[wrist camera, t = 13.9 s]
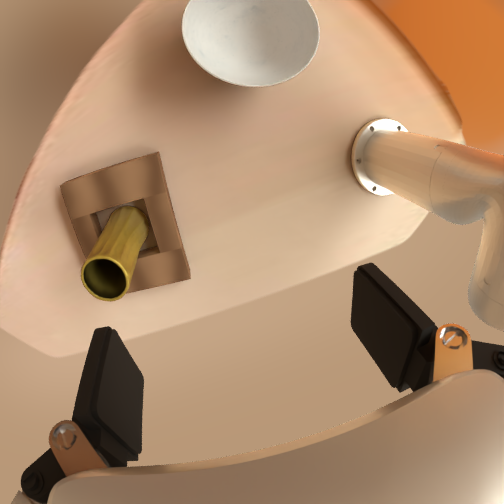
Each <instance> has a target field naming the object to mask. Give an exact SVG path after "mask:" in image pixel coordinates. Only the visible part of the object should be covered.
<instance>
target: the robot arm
mask: <svg viewBox="0 0 504 504" xmlns="http://www.w3.org/2000/svg"><path fill="white" fill-rule="evenodd" d="M351 156H352V167H353V171H354V174H355V177H356V178H357V180H358V182H359V183H360V184H361V185H362V187H363V188H365V189H366V190H367V191H369V192H371V193H373V194H376V195H384V196H385V195H390V194H392V193H395V194H397V195H399V196H401V197H403V198H405V199H407V200H409V201H411V202H413V203H415V204H417V205H419V206H421V207H423V208H424V209H426V210H428V211H430V212H432V213H434V214H435V215H437V216H439V217H441V218H443V219H445V220H446V221H448V222H451V223H453V224H459V225H464V224H470V223H473V222H476V221H478V220H480V219H482V218H484V226H483V232H482V239H481V243H480V247H479V251H478V254H477V258H476V262H475V265H474V268H473V272H472V276H471V280H470V283H469V289H468V300H469V304H470V306H471V309H472V311H473V312H474V313H475V315H476V316H477V317H478V318H479V319H481V320H482V321H483V322H484V323H486V324H488V325H489V326H492V327H494V328H496V329H498V330H501V331H503V332H504V155H501V154H496V153H492V152H487V151H484V150H480V149H476V148H472V147H469V146H465V145H462V144H458V143H454V142H450V141H446V140H442V139H438V138H434V137H429V136H425V135H420V134H416V133H411V132H408V131H407V130H406V128H405V127H404V126H403V125H402V124H400V123H399V122H397V121H395V120H392V119H386V118H379V119H375V120H372V121H371V122H369V123H367V124H366V125H365V126H364V127H363V128H362V129H361V130H360V131H359V133H358V134H357V136H356V138H355V141H354V144H353V147H352V154H351ZM351 327H352V329H353V331H354V332H355V333H356V335H357V337H358V338H359V339H360V341H361V342H362V344H363V345H364V346H365V348H366V349H367V351H368V352H369V354H370V355H371V357H372V358H373V360H374V361H375V363H376V364H377V366H378V367H379V368H380V370H381V372H382V373H383V374H384V375H385V377H386V379H387V380H388V382H389V383H390V385H391V386H392V387H393V388H395V387H396V388H397V389H398V391H399V392H402V391H404V390H406V389H408V388H411V389H412V391H413V393H411V394H409V395H407V396H405V397H403V398H401V399H399V400H397V401H394V402H393V403H390V404H388V405H386V406H384V407H382V408H379V409H377V410H375V411H373V412H371V413H368V414H366V415H363V416H361V417H359V418H356V419H354V420H351V421H349V422H346V423H344V424H341V425H338V426H336V427H333V428H330V429H328V430H325V431H322V432H319V433H316V434H313V435H310V436H307V437H303V438H300V439H297V440H294V441H290V442H287V443H283V444H279V445H276V446H272V447H268V448H264V449H260V450H256V451H251V452H247V453H242V454H237V455H232V456H226V457H221V458H215V459H209V460H202V461H195V462H187V463H177V464H166V465H155V466H139V467H127V461H138V454H140V453H141V451H142V409H143V389H144V388H143V387H144V379H143V375H142V373H141V371H140V370H139V368H138V367H137V365H136V364H135V362H134V360H133V359H132V357H131V355H130V354H129V352H128V350H127V349H126V347H125V345H124V344H123V342H122V340H121V338H120V337H119V335H118V333H117V331H116V330H115V329H111V327H109V326H107V327H102V328H97V329H95V331H94V334H93V337H92V340H91V344H90V347H89V350H88V354H87V358H86V361H85V365H84V369H83V372H82V377H81V380H80V384H79V389H78V393H77V397H76V402H75V407H74V411H73V416H72V421H71V420H64V421H61V422H59V423H57V424H56V425H55V426H54V427H53V428H52V430H51V431H50V435H49V444H50V447H51V448H50V449H49V450H48V451H46V452H45V453H44V454H43V455H42V456H41V457H39V458H38V459H37V460H36V461H35V462H34V463H33V464H31V465H30V467H28V468H27V469H26V470H25V471H24V472H23V474H22V477H21V487H22V490H23V491H22V492H21V491H18V492H17V494H16V496H15V498H14V499H13V501H12V503H11V504H504V346H502V345H496V344H489V343H483V342H478V341H472V340H471V337H470V334H469V332H468V331H467V330H466V329H465V328H464V327H462V326H460V325H458V324H454V323H453V324H451V323H450V324H449V323H448V324H444V325H442V326H441V327H439V328H437V326H435V323H434V322H433V321H432V320H431V319H430V318H429V317H428V316H427V315H426V314H425V313H424V312H423V311H422V310H421V309H420V308H419V307H418V306H417V305H416V304H415V303H414V302H413V301H412V300H411V299H410V298H409V297H408V296H407V295H406V294H405V293H404V292H403V291H402V290H401V289H400V288H399V287H398V286H397V285H396V284H395V283H394V282H393V281H391V280H390V279H389V278H388V277H387V276H386V275H385V274H384V273H383V272H382V271H381V270H380V269H379V268H378V267H377V266H376V265H374V264H373V263H368V264H364V265H361V266H359V267H358V268H357V271H355V272H354V281H353V298H352V312H351Z"/></svg>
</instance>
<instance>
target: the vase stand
mask: <svg viewBox="0 0 504 504" xmlns="http://www.w3.org/2000/svg"><path fill="white" fill-rule="evenodd" d="M60 188H61V191H62V195H63V198H64V201H65V204H66V207H67V210H68V213H69V216H70V219H71V221H72V224H73V227H74V230H75V232H76V235H77V238H78V240H79V243H80V245H81V248H82V250H83V253H84V255H85V257H86V259H87V258H88V256H89V254H90V252H91V251H92V249H93V247H94V245H95V244H96V242H97V240H98V238H99V236H100V235H101V233H102V229H101V226H100V223H99V221H98V218H97V215H96V212H98V211H101V210H104V209H108V208H111V207H114V206H118V205H121V204H124V203H128V202H131V201H135V200H139V199H142V198H144V201H145V205H146V208H147V212H148V215H149V218H150V222H151V225H152V228H153V232H154V235H155V238H156V241H157V244H158V246H157V247H153V248H149V249H145V250H141V251H139V254H138V258H137V262H136V265H135V268H134V271H133V275H132V279H131V282H130V286H129V289H128V290H127V292H126V293H131V292H135V291H140V290H144V289H149V288H153V287H157V286H162V285H166V284H170V283H175V282H179V281H183V280H188V279H190V268H189V265H188V261H187V258H186V254H185V251H184V247H183V244H182V240H181V237H180V233H179V230H178V226H177V222H176V219H175V215H174V211H173V207H172V203H171V200H170V196H169V192H168V188H167V184H166V180H165V175H164V171H163V167H162V163H161V158H160V154H159V152H156V153H153V154H149V155H145V156H142V157H138V158H135V159H132V160H128V161H125V162H122V163H118V164H115V165H112V166H109V167H106V168H103V169H100V170H97V171H94V172H91V173H88V174H86V175H83V176H80V177H77V178H75V179H72V180H69V181H67V182H65V183H63V184H62V185H60ZM126 293H125V294H126Z"/></svg>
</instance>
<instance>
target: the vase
mask: <svg viewBox="0 0 504 504" xmlns="http://www.w3.org/2000/svg"><path fill="white" fill-rule="evenodd" d="M148 233H149V222H148V220H147V218H146V216H145V214H144V213H143V212H142V211H140V210H139V209H137V208H135V207H131V206H124V207H120V208H118V209H116V210H115V211H114V212H113V213H112V214H111V216H110V218H109V221H108V223H107V224H106V226H105V228H104V230H103V231H102V233H101V235H100V236H99V238H98V240H97V242H96V244H95V245H94V247H93V249H92V251H91V252H90V254H89V256H88V258H87V259H86V261H85V263H84V264H83V267H82V270H81V280H82V283H83V285H84V287H85V288H86V289H87V291H88V292H89V293H90V294H91V295H93V296H94V297H95V298H97V299H100V300H103V301H115V300H118V299H120V298H122V297H123V296H124V295H125V293H126V292H127V290H128V289H129V286H130V282H131V279H132V275H133V271H134V268H135V265H136V262H137V258H138V254H139V251H140V248H141V246H142V245H143V243H144V241H145V239H146V238H147V236H148Z"/></svg>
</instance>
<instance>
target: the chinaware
mask: <svg viewBox="0 0 504 504" xmlns="http://www.w3.org/2000/svg"><path fill="white" fill-rule="evenodd" d="M182 36H183V40H184V43H185V46H186V48H187V50H188V52H189V54H190V55H191V57H192V58H193V59H194V61H195V62H196V63H197V64H198V65H199V66H200V67H201V68H202V69H204V70H205V71H206V72H208V73H209V74H210V75H212V76H214V77H216V78H218V79H220V80H222V81H224V82H227V83H230V84H234V85H238V86H244V87H266V86H272V85H276V84H279V83H282V82H285V81H287V80H289V79H291V78H293V77H295V76H296V75H298V74H299V73H300V72H301V71H303V70H304V69H305V68H306V67H307V66H308V64H309V63H310V62H311V60H312V59H313V57H314V55H315V53H316V51H317V48H318V44H319V37H320V30H319V23H318V19H317V16H316V14H315V12H314V10H313V8H312V6H311V4H310V3H309V2H308V0H189V2H188V4H187V6H186V8H185V10H184V13H183V17H182Z"/></svg>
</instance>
